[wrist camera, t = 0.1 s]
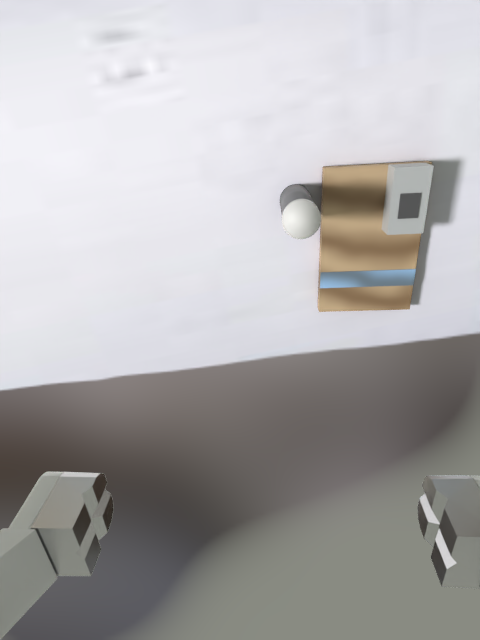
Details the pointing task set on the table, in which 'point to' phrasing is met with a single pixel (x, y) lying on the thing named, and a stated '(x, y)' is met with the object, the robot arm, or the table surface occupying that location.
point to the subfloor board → (362, 244)
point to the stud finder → (406, 198)
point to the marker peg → (299, 212)
